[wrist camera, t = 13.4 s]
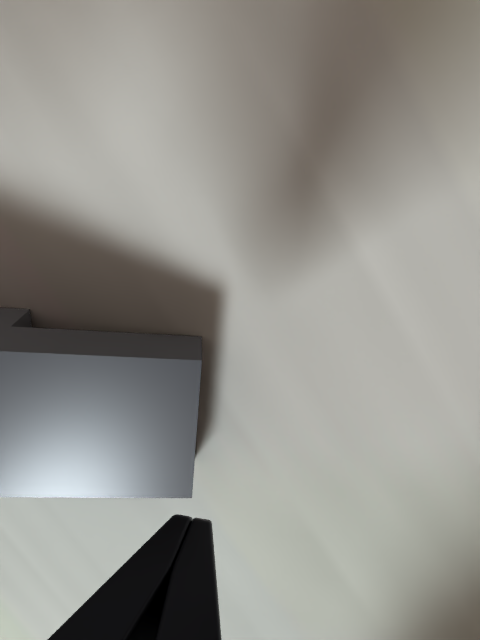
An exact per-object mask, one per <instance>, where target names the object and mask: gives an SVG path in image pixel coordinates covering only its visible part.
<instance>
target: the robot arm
mask: <svg viewBox="0 0 480 640" xmlns="http://www.w3.org/2000/svg"><path fill="white" fill-rule="evenodd" d="M48 640H221V629H220V617H219V604H218V592H217V580H216V568H215V556H214V544H213V532H212V523H211V521H210V520H206V519H201V518H194V519H192V518H191V517H189V516H183V515H174V516H172V517H171V518H170V519H169V520H168V521H167V522H166V523H165V524H164V525H163V526H162V527H161V528H160V529H159V530H158V531H157V532H156V533H155V534H154V535H153V536H152V537H151V538H150V539H149V540H148V541H147V542H146V543H145V544H144V545H143V546H142V547H141V548H140V549H139V550H138V551H137V552H136V553H135V554H134V555H133V556H132V557H131V558H130V559H129V560H128V561H127V562H126V563H125V564H124V565H123V566H122V567H121V568H120V569H119V570H118V571H117V572H116V573H115V574H114V575H113V576H112V577H111V578H109V579H108V580H107V581H106V582H105V583H104V584H103V585H102V586H101V587H100V588H99V589H98V590H97V591H96V592H95V593H94V594H93V595H92V596H91V597H90V598H89V599H88V600H87V601H86V602H85V603H84V604H83V605H82V606H81V607H80V608H79V609H78V610H77V611H76V612H75V613H74V614H73V615H72V616H71V617H70V618H69V619H68V620H67V621H66V622H65V623H64V624H63V625H62V626H61V627H60V628H59V629H58V630H57V631H56V632H55V633H54V634H53V635H52V636H51V637H50V638H49V639H48Z"/></svg>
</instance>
